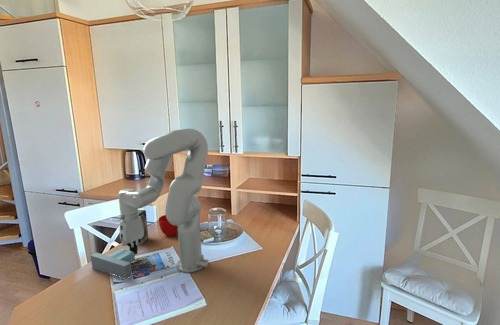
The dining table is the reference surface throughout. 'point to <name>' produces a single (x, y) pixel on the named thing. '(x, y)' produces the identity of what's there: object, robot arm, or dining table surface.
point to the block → (124, 255)
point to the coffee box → (144, 220)
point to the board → (111, 265)
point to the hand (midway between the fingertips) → (133, 253)
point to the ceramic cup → (167, 227)
